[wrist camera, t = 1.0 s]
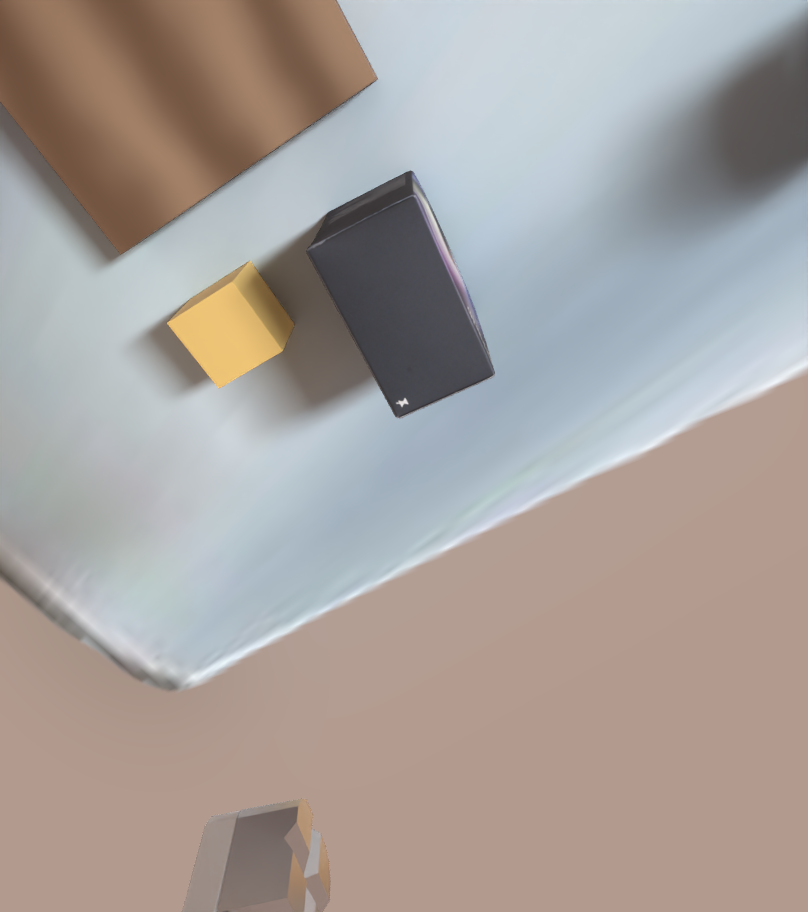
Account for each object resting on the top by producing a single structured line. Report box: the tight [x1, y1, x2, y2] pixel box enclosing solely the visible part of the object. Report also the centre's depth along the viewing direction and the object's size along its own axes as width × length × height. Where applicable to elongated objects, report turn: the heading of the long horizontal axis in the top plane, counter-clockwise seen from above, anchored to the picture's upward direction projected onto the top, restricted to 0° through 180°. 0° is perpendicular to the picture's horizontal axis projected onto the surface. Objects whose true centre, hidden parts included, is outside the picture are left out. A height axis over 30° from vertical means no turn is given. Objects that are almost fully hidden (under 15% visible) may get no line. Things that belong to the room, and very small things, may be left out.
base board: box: [0, 0, 378, 254], centre depth 35 cm, size 18×18×3 cm
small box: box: [306, 171, 495, 418], centre depth 38 cm, size 11×6×10 cm, turn 26°
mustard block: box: [167, 261, 295, 388], centre depth 42 cm, size 5×5×5 cm
